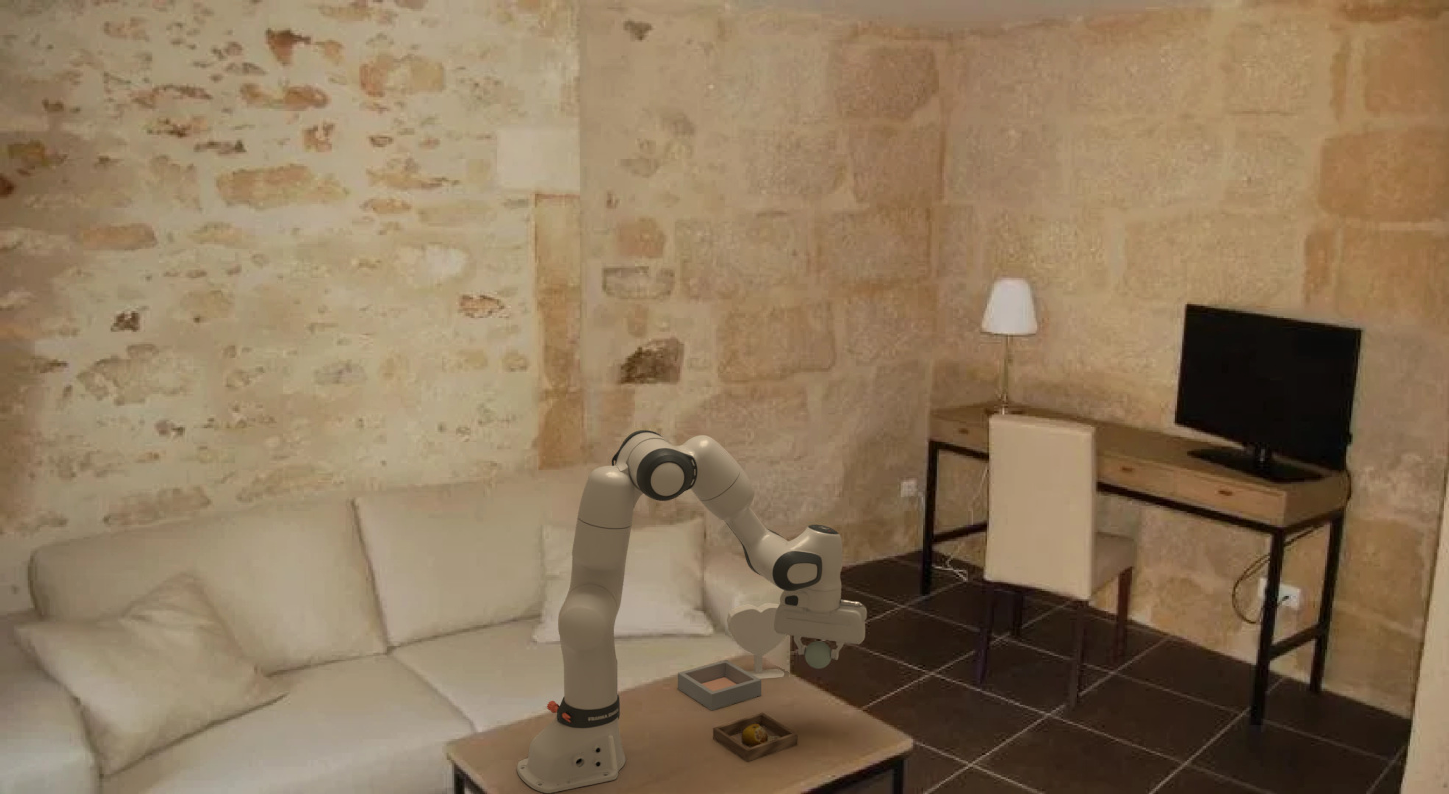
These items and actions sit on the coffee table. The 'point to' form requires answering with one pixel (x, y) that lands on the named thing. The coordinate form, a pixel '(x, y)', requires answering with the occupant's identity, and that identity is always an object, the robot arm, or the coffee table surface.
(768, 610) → the heart sculpture
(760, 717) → the fruit tray
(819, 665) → the ball
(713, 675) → the grey square tray
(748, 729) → the fruit
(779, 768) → the coffee table surface
